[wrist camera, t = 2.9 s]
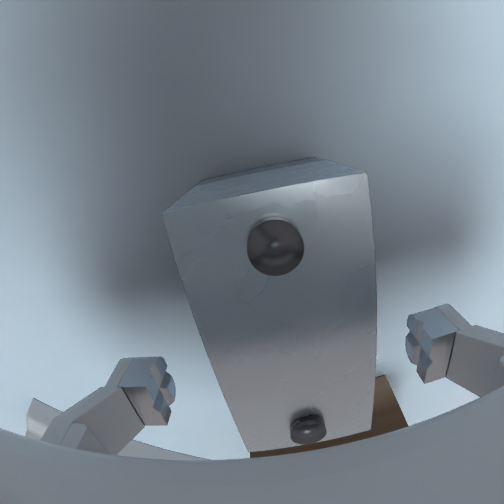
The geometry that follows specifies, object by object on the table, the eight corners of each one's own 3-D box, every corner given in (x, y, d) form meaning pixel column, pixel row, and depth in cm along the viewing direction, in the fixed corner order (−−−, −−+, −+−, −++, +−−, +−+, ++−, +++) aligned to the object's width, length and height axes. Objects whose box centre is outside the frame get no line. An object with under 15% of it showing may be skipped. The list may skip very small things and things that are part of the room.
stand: (250, 402, 16) (249, 474, 12) (384, 375, 16) (413, 438, 11) (280, 484, 20) (283, 532, 16) (372, 466, 20) (385, 511, 15)
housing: (203, 179, 12) (156, 218, 6) (314, 156, 12) (373, 174, 6) (249, 355, 15) (248, 460, 9) (337, 339, 15) (373, 437, 9)
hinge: (230, 463, 19) (214, 575, 11) (219, 470, 22) (205, 564, 14) (29, 395, 17) (-5, 496, 10) (46, 413, 20) (18, 500, 13)
